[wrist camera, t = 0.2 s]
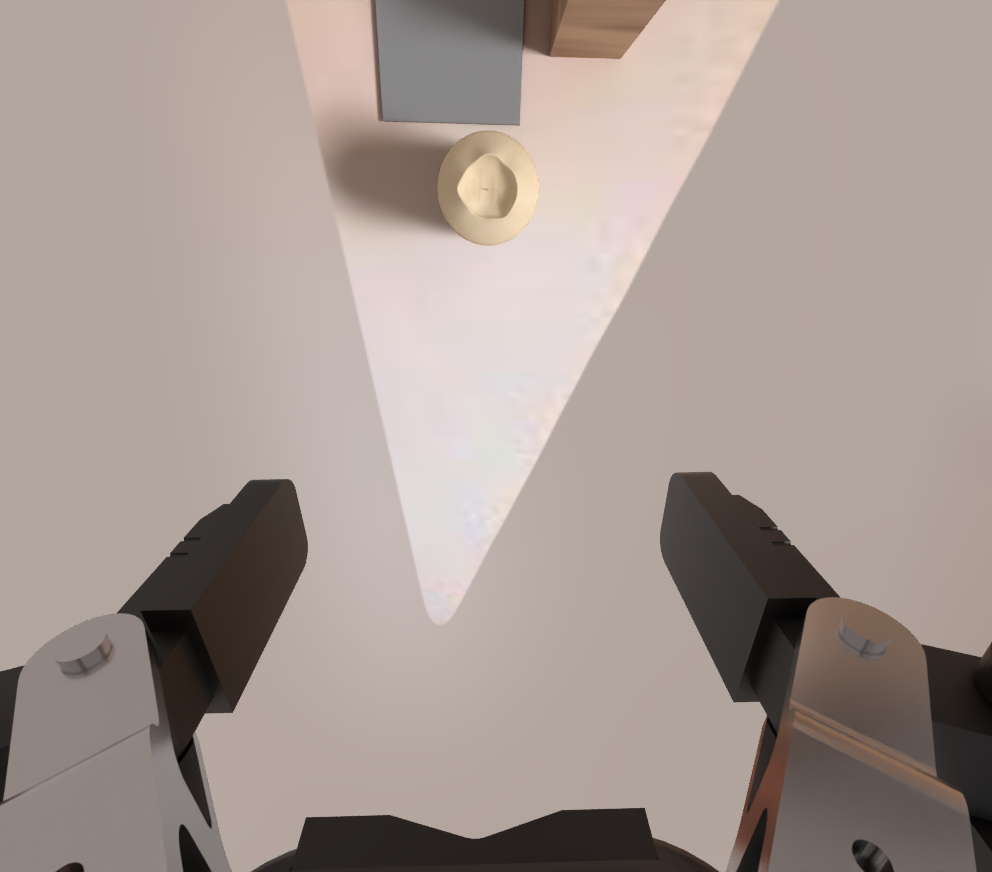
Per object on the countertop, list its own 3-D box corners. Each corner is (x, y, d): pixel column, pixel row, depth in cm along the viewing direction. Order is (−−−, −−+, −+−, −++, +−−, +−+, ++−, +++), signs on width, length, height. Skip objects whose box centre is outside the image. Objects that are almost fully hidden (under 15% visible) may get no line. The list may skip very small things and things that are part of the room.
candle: (448, 234, 34) (431, 240, 25) (453, 146, 32) (436, 118, 23) (523, 243, 35) (533, 252, 26) (534, 156, 32) (549, 132, 23)
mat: (368, -134, 27) (366, -137, 26) (529, -128, 27) (529, -131, 26) (383, 121, 32) (382, 120, 31) (519, 125, 32) (519, 124, 31)
